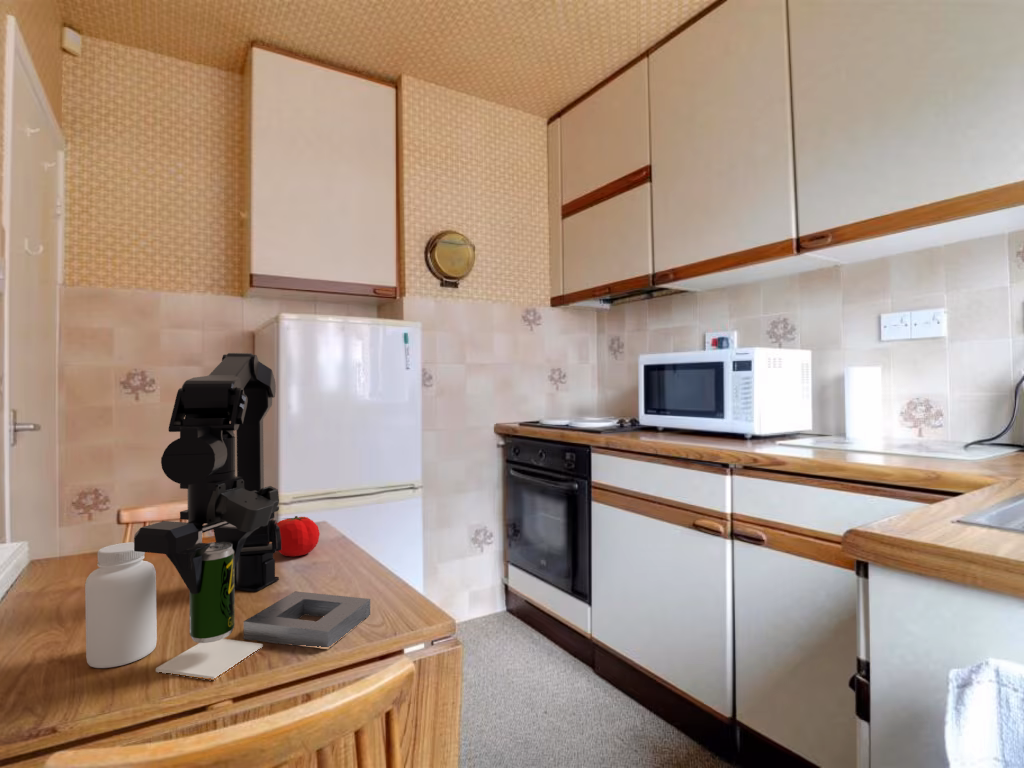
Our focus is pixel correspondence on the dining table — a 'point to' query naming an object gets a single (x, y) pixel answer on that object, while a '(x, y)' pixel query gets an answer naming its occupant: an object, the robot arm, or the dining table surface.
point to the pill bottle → (120, 607)
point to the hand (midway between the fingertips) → (212, 585)
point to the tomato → (298, 536)
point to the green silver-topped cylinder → (214, 595)
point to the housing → (286, 627)
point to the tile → (209, 658)
